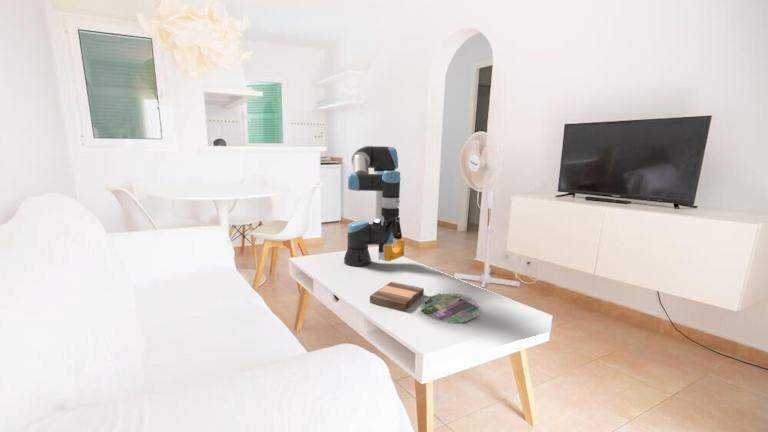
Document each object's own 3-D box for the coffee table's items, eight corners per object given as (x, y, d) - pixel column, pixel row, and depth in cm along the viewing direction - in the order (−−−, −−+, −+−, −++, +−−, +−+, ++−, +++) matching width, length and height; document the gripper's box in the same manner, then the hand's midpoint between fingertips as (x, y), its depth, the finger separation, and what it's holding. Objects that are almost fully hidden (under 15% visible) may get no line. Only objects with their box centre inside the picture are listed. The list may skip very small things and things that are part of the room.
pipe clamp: (395, 254, 167) (396, 240, 166) (403, 255, 165) (404, 241, 164) (380, 259, 157) (380, 244, 156) (388, 261, 155) (389, 246, 154)
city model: (407, 316, 148) (406, 302, 147) (436, 293, 166) (436, 280, 165) (465, 337, 134) (465, 322, 132) (490, 309, 152) (490, 296, 150)
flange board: (391, 287, 172) (391, 281, 172) (423, 294, 165) (423, 288, 165) (369, 302, 155) (370, 295, 154) (404, 311, 148) (405, 303, 147)
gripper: (384, 211, 146) (382, 264, 149) (410, 205, 167) (408, 251, 171) (368, 209, 150) (366, 261, 153) (395, 203, 171) (394, 249, 174)
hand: (388, 256), depth 162 cm, fingers closed on pipe clamp, 12 cm apart
